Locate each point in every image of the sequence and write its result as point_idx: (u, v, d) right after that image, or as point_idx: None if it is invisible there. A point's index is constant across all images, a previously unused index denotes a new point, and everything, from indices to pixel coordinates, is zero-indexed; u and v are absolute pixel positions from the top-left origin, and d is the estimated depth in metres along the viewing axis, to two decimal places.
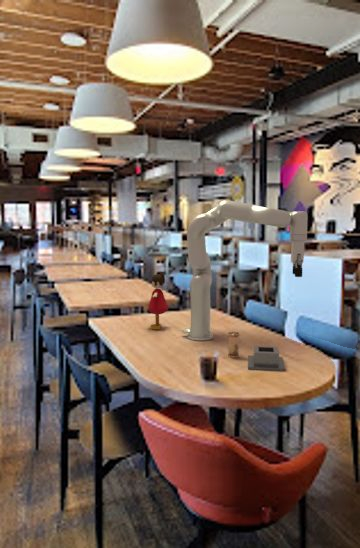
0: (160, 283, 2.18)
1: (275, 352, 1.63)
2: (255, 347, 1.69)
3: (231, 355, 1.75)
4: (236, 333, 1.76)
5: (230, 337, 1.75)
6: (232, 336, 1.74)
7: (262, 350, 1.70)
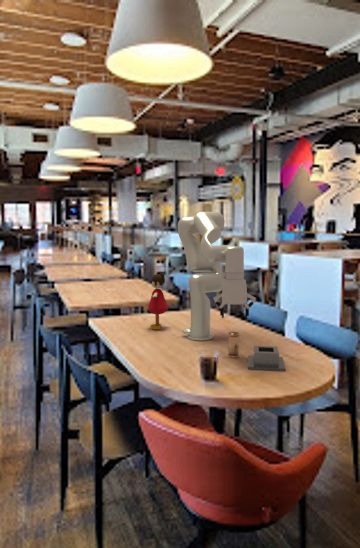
0: (160, 283, 2.18)
1: (275, 352, 1.63)
2: (255, 347, 1.69)
3: (231, 355, 1.75)
4: (236, 333, 1.76)
5: (230, 337, 1.75)
6: (232, 336, 1.74)
7: (262, 350, 1.70)
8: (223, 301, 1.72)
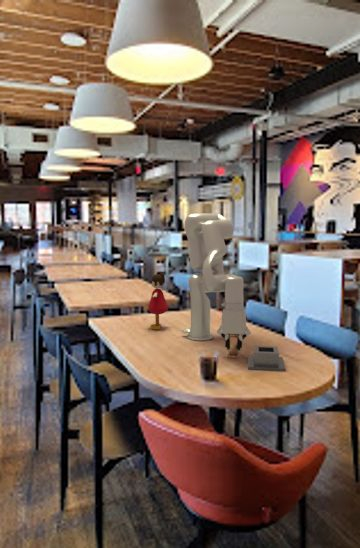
0: (160, 283, 2.18)
1: (275, 352, 1.63)
2: (255, 347, 1.69)
3: (231, 355, 1.75)
4: None
5: (230, 337, 1.75)
6: (232, 336, 1.74)
7: (262, 350, 1.70)
8: (222, 330, 1.74)
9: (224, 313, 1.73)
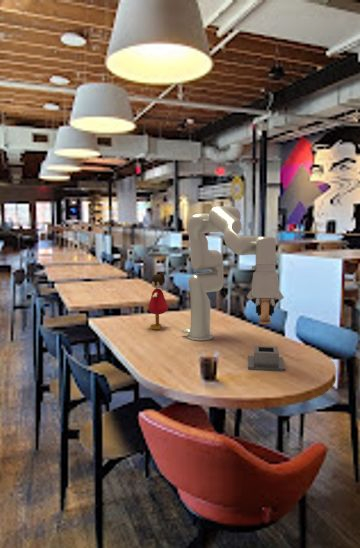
0: (160, 283, 2.18)
1: (275, 352, 1.63)
2: (255, 347, 1.69)
3: (262, 321, 1.64)
4: None
5: (261, 302, 1.63)
6: (264, 301, 1.63)
7: (262, 350, 1.70)
8: (253, 295, 1.63)
9: (255, 276, 1.62)
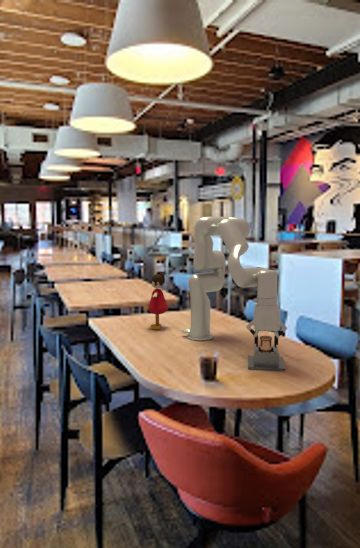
0: (160, 283, 2.18)
1: (275, 352, 1.63)
2: (255, 347, 1.69)
3: None
4: (269, 337, 1.66)
5: (262, 341, 1.65)
6: (265, 340, 1.64)
7: None
8: (255, 327, 1.64)
9: (257, 309, 1.63)
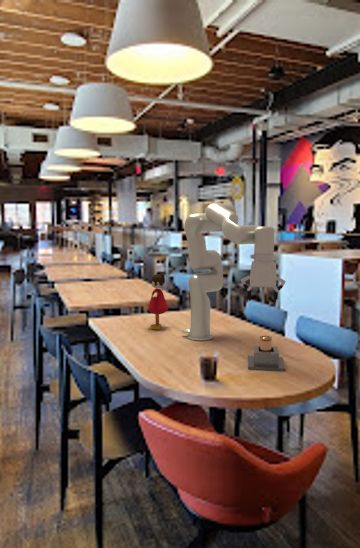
0: (160, 283, 2.18)
1: (275, 352, 1.63)
2: (255, 347, 1.69)
3: None
4: (268, 337, 1.66)
5: (262, 341, 1.65)
6: (265, 340, 1.64)
7: None
8: (251, 283, 1.65)
9: (253, 265, 1.64)
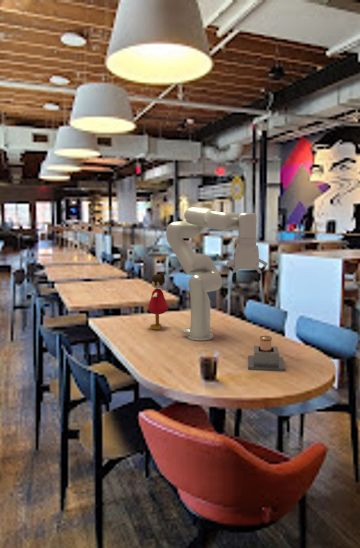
0: (160, 283, 2.18)
1: (275, 352, 1.63)
2: (255, 347, 1.69)
3: None
4: (268, 337, 1.66)
5: (262, 341, 1.65)
6: (265, 340, 1.64)
7: None
8: (236, 266, 1.79)
9: (238, 248, 1.78)
